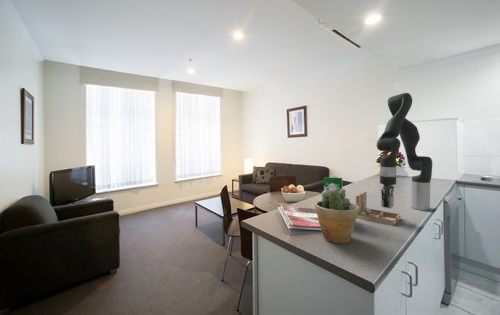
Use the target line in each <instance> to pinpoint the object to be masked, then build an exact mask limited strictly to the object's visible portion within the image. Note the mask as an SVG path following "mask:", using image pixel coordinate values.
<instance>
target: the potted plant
mask: <svg viewBox="0 0 500 315" xmlns="http://www.w3.org/2000/svg"><path fill="white" fill-rule="evenodd" d="M328 190H329V191H326V190H325V191H324V190H323V191H322V192H321V199H322V200H319V201H316V202H315V203H314V207H315V208H314V209H315V214H316V215H317V220H318V225H319V227H320V231H321V233H322V234H321V235H322V236H323V238H324V239H325V240H326V241H327V242H330V243H334V244H346V243H349V242H350V241H351V238H352V234H353V232H354V228H355V224H356V221H357V219H358V218H357V217H358V212H359V206H358V205H356V203H355V202H351V201H350V199H349V198H347V197H346V189H344V188H342V189H340V191H339V188H338V186H337V185H335V184H331V185H329V186H328Z"/></svg>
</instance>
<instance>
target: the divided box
mask: <svg viewBox="0 0 500 315" xmlns="http://www.w3.org/2000/svg"><path fill="white" fill-rule="evenodd" d="M355 198H356V200H355V201H356V202H355V204H356V205H358V206H359V212H358V217H357V218H356V219H361V220H365V221H370V222H373V223H380V224H384V225H389V226H392V227H394V226H395V225H396V224H397V222H399V221H400V220H401V214H400V213H396V212H390V211H383V210H380V209H379V210H378V209H373V208H369V209H370V210H371V213H370V214H367V213H366V212H365V209H367V208H368V207H367V191H364V192H362V193H360V194H358V195H356V196H355ZM360 212H365V213H366V215H363V214H360Z"/></svg>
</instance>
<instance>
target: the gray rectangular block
mask: <svg viewBox="0 0 500 315" xmlns="http://www.w3.org/2000/svg"><path fill="white" fill-rule="evenodd" d="M385 198H386V196H385ZM394 198H395V197H394V195H393V196H390V197H389V207H388V208H387V209H392V208H394V204H395V202H394V201H395V200H394ZM381 208H386V207H384V200H382V199H381Z"/></svg>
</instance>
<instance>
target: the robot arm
mask: <svg viewBox="0 0 500 315" xmlns="http://www.w3.org/2000/svg"><path fill="white" fill-rule="evenodd" d="M412 105H413V97H412V94H410V93H409V92H404V93H403V92H402V93H399V94H397V95H392V96H390V97H389V98H388V99H387V106H388V109H389V111H390V114H391V115H392V117H390V119H389V120H388V121H387V123H386V125H385V128H384V131H383V133H382V134H381V136H379V138H378V139H377V141H376V148H377V150H378V151H379V152H390V153H389V154H387V155H382V156H380V162H379V163H380V165H379V166H380V168H379V184H380V185H383V187H382V189H380V191H381V192H380V193H381V201H382V200H384V207H383V208H385V207H386V208H387V209H389V208H388V207H389V197H390V196H394V192H395V185H397V158H398V153H399V151H400V148H401V142H402V145H403V148H404V151H405V154H406V159H407V160H406V161H407V164H408V167H409V168H410V169H411V170H412V171H419V172H420V174H418V175H414V176H412V177H411V209H414V210H419V211H430V209H431V181H432V180H431V179H432V176H433V174H432V173H433V159H432V158H431V157H430V156H419V155H418V154H417V152H416V148H417V146H418V143H419V141H420V140H421V139H420V138H421V137H420V133H419V130H418V127H417V126H416V125H415V123H413V122H412V121H410V120H409V119H407V118H406V117H407V116H408V113H409V111H410V109H411V107H412ZM399 136H400V139H399V138H398V137H399ZM385 196H386V198H385Z"/></svg>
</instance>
